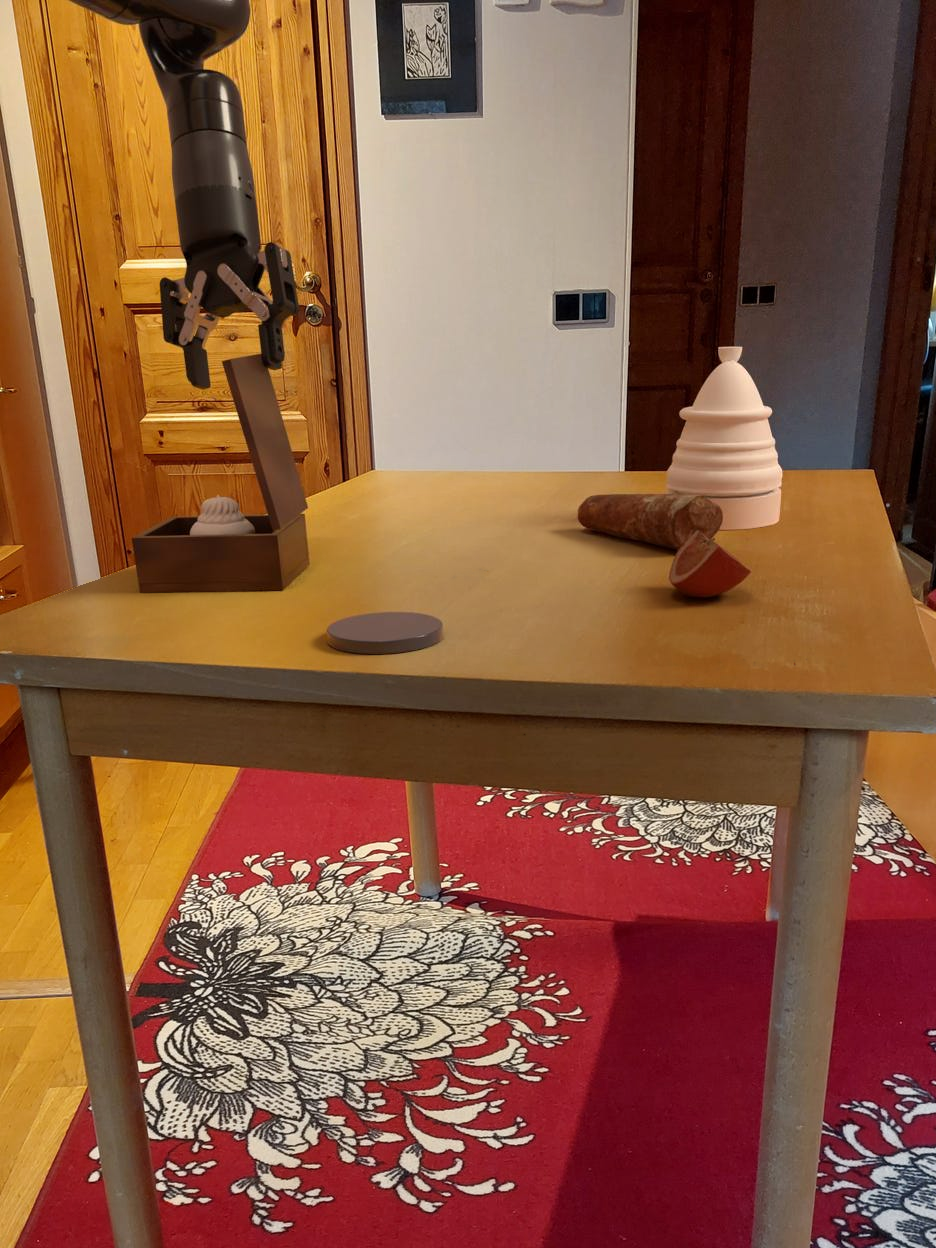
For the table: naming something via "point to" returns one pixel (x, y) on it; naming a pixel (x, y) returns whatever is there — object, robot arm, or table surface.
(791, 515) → the table surface
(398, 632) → the plate
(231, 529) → the muffin
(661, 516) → the brown cylinder
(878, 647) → the table surface
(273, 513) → the lid
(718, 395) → the honey pot
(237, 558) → the chest
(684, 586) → the fruit slice
